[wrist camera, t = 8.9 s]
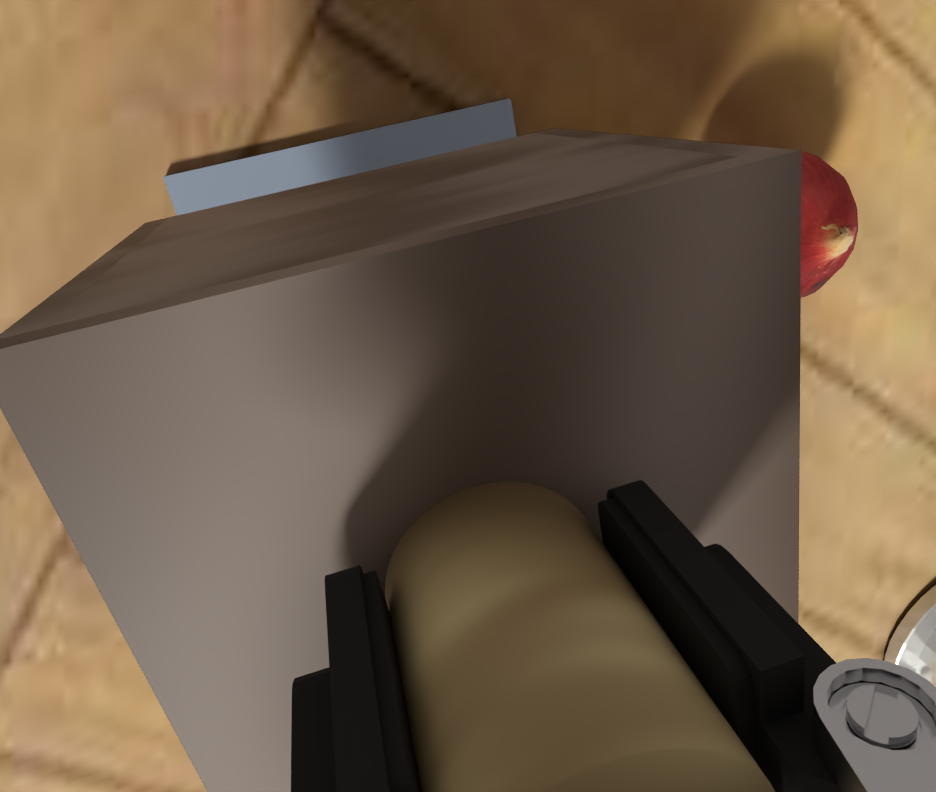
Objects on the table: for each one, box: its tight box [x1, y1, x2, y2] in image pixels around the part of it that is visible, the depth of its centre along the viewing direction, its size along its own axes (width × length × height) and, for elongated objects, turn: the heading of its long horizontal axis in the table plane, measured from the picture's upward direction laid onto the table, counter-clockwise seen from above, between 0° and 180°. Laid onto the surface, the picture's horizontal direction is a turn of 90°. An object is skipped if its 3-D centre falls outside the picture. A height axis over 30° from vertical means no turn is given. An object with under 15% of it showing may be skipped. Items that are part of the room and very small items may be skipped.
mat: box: [163, 99, 517, 216], centre depth 28 cm, size 13×13×1 cm
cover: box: [0, 128, 802, 792], centre depth 14 cm, size 11×11×16 cm
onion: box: [800, 152, 858, 298], centre depth 27 cm, size 6×6×8 cm
